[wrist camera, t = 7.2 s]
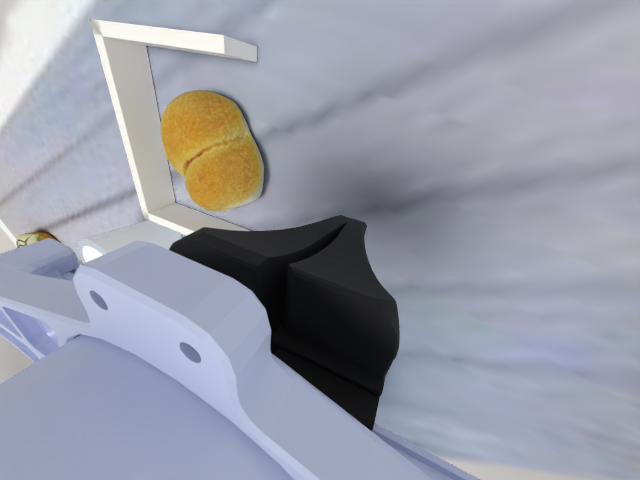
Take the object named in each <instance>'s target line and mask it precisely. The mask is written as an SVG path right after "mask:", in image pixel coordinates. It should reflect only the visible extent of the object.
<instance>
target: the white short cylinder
mask: <svg viewBox="0 0 640 480" xmlns="http://www.w3.org/2000/svg"><path fill="white" fill-rule="evenodd" d="M181 238H182V236H181V234H180V233H179V232H177V231H175V230H172V229H170V228H167V227H165V226H162V225H160V224H157V223H155V222H153V221H150V220H147V221H143V222H140V223H137V224H133V225H130V226H126V227H123V228H119V229H116V230H113V231H109V232H106V233H102V234H99V235H95V236H92V237H89V238H85V239H82V240H79V242H78V245H77V248H78V252H79V256H80V258H81V259H82V261H83V263H86V262H88V261H91V260H93V259H95V258H98V257H100V256H102V255H104V254H107V253H109V252H111V251H114V250H116V249H118V248H121V247H123V246H125V245H128V244H130V243H132V242H135V241H142V242H150V243H153V244H156V245H158V246H161V247H163V248H165V249H168V250H169V248H170V247H171V245H172V244H173V243H174V242H176V241H177V240H179V239H181Z"/></svg>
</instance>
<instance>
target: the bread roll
mask: <svg viewBox="0 0 640 480" xmlns="http://www.w3.org/2000/svg"><path fill="white" fill-rule="evenodd" d="M161 137H162V142H163V145H164V149H165V153H166V157H167V159H168V160H169V161H170V163H171V165H172V166H173V167H174V168H175V170H176V171H177V172H179V173H180V174H181V175H182V176H183V177H184V178H185V183H186V188H187V191H188V193H189V195H190V197H191V199H192V200H193V201H194V202H195V203H196V204H198V205H199V206H201V207H203V208H204V209H206V210H210V211H222V212H224V211H227V210H232V209H234V208H238V207H240V206H244V205H246V204H249V203H251V202H252V201H254V200H256V199H258V198H259V197H260V196H261V193H262V189H263V179H264V164H263V160H262V157H261V154H260V152H259V149H258V147H257V145H256V143H255V141H254V139H253V137H252V135H251V133H250V131H249V127H248V125H247V122H246V120H245V119H244V117H243V115H242V113H241V111H240V110H239V108H238V106H237V105H236V104H235V103H234V102H233V101H231V100H230V99H228V98H226V97H224V96H222V95H219V94H216V93H213V92H210V91H202V90H198V91H190V92H186V93H184V94H181V95H180V96H178V97H176V98H175V99H174V100H172V101H171V102H170V103H169V105H168V106H167V108H166V109H165V111H164V113H163V116H162V119H161Z"/></svg>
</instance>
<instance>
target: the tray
mask: <svg viewBox="0 0 640 480" xmlns="http://www.w3.org/2000/svg"><path fill="white" fill-rule="evenodd" d="M90 21H91V25H92V29H93V32H94V36H95V40H96V44H97V47H98V51H99V55H100V58H101V62H102V66H103V69H104V73H105V77H106V80H107V84H108V88H109V91H110V95H111V99H112V102H113V106H114V110H115V113H116V117H117V121H118V124H119V128H120V132H121V135H122V139H123V143H124V147H125V150H126V154H127V158H128V161H129V165H130V169H131V172H132V176H133V180H134V183H135V187H136V191H137V194H138V198H139V202H140V205H141V209H142V213H143V216H144V218H145V219H148V220H150V221H153V222H155V223H157V224H160V225H162V226H165V227H167V228H170V229H172V230H175V231H177V232H179V233H182V234H184V235H189V234H191V233H193V232H195V231H197V230H199V229H201V228H203V227H208V228H216V229H225V230H236V231H251V230H248V229H245V228H243V227H240V226H237V225H234V224H232V223H229V222H226V221H224V220H221V219H218V218H215V217H213V216H210V215H207V214H205V213H202V212H199V211H196V210H194V209H191V208H188V207H186V206H183V205H180V204H178V203H176V202H175V197H174V191H173V186H172V180H171V175H170V170H169V164H168V159H167V157H166V153H165V149H164V145H163V142H162V137H161V122H160V116H159V111H158V106H157V100H156V95H155V90H154V84H153V79H152V74H151V68H150V63H149V57H148V52H147V47H146V46H152V47H159V48H166V49H172V50H179V51H186V52H193V53H199V54H206V55H213V56H219V57H226V58H233V59H240V60H246V61H253V62H257V46H254V45H251V44H248V43H245V42H242V41H239V40H236V39H233V38H230V37H227V36H224V35H218V34H209V33H201V32H193V31H184V30H176V29H168V28H159V27H151V26H142V25H134V24H126V23H117V22H109V21H101V20H92V19H90Z"/></svg>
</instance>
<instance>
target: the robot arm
mask: <svg viewBox="0 0 640 480" xmlns="http://www.w3.org/2000/svg"><path fill="white" fill-rule="evenodd" d="M366 227H367V225H366V223H365V222H361V221H358V220H355V219H352V218H348V217H345V216H342V215H339V216H335V217H332V218H329V219H326V220H322V221H319V222H316V223H312V224H308V225H304V226H300V227H296V228H290V229H283V230H271V231H236V230H225V229H216V228H208V227H203V228H201V229H199V230H197V231H195V232H193V233H191V234H189V235H187V236H185V237H183V238H181V239H179V240H177V241H176V242H174V243H173V244H172V245H171V247H170V248H169V250H168V249H165V248H163V247H161V246H158V245H156V244H153V243H150V242H142V241H135V242H132V243H130V244H128V245H125V246H123V247H121V248H118V249H116V250H114V251H111V252H109V253H107V254H104V255H102V256H100V257H98V258H95V259H93V260H91V261H88V262H86V263H84V264H81V265H80V263H79V260H78V258H77V256H76V254H75V253H74V252H73V250H72V249H71V248H69V247H68V246H66V245H64V244H62V243H60V242H58V241H56V240H54V239H51V238H47V239H44V240H41V241H38V242H35V243H32V244H29V245H26V246H23V247H20V248H17V249H14V250H11V251H8V252H5V253H2V254H0V335H1V336H2V337H4V338H5V339H6V340H8V341H9V342H10V343H11V344H13V345H14V346H15V347H16V348H17V349H19V350H20V351H21V352H22V353H24V354H25V355H26V356H27V357H28V358H30V359H31V360H32V361H33V362H34V364H32V365H31V366H29V367H27V368H26V369H24V370H23V371H21V372H19V373H18V374H16V375H15V376H13V377H11V378H10V379H8V380H7V381H5V382H4V383H2V384H0V480H480V479H478V478H476V477H474V476H472V475H470V474H468V473H467V472H465V471H463V470H461V469H459V468H457V467H455V466H453V465H452V464H450V463H448V462H446V461H444V460H442V459H440V458H439V457H437V456H435V455H433V454H431V453H429V452H427V451H425V450H424V449H422V448H420V447H418V446H416V445H414V444H412V443H410V442H408V441H407V440H405V439H403V438H401V437H399V436H397V435H395V434H393V433H392V432H390V431H388V430H386V429H384V428H382V427H380V426H378V425H377V424H375V423H374V422H375V417H376V412H377V407H378V402H379V397H380V396H381V394H382V391H383V386H384V380H385V378H386V376H387V374H388V372H389V370H390V369H391V367H392V365H393V363H394V359H395V357H396V355H397V352H398V348H399V318H398V310H397V304H396V301H395V299H394V298H393V297H392V296H391V295H390V294H389V293H388V292H387V291H386V290H385V289H384V288H383V286H382V285H381V284H380V282H379V281H378V280H377V278H376V276H375V274H374V273H373V271H372V269H371V266H370V264H369V261H368V258H367V254H366V250H365V244H364V234H365V231H366Z"/></svg>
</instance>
